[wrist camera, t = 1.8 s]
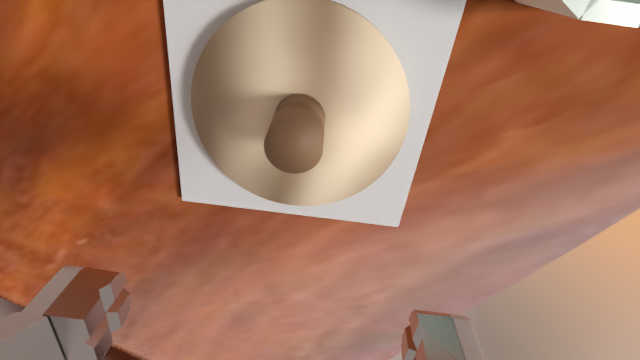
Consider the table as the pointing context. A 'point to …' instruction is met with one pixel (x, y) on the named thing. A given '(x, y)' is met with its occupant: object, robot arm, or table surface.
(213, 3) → the mat
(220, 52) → the lid
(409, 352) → the robot arm
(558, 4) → the bowl
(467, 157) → the table surface
